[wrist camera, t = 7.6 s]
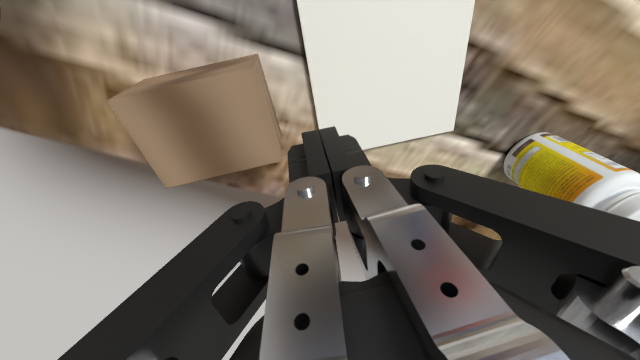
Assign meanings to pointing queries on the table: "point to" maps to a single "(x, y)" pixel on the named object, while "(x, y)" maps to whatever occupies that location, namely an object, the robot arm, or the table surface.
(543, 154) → the supplement bottle
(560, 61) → the table surface
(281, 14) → the table surface
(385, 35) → the white square tile
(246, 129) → the walnut block
